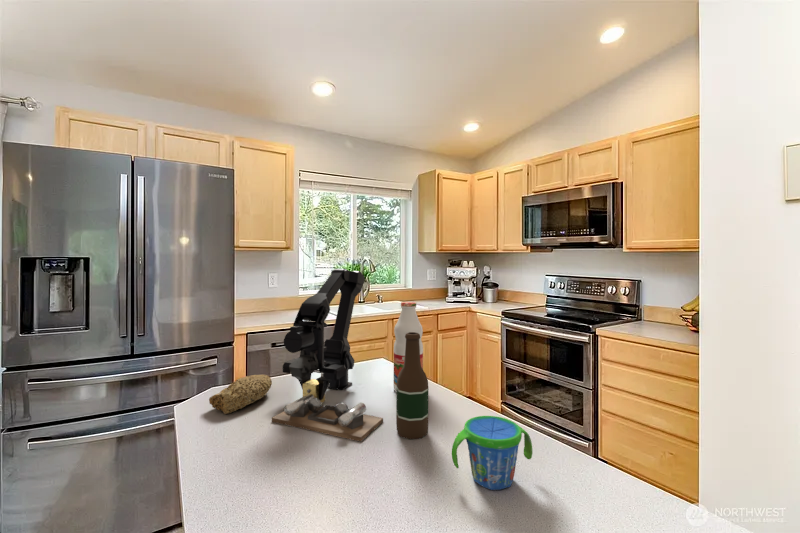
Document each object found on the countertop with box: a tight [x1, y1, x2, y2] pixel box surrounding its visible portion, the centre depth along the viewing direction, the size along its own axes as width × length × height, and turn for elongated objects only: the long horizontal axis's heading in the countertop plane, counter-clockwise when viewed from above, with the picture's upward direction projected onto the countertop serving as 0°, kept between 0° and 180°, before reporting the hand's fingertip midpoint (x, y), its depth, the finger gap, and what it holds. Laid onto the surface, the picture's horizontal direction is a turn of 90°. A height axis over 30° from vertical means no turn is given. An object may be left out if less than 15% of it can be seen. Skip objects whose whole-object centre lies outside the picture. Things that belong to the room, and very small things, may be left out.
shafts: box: [283, 394, 367, 427], centre depth 95 cm, size 9×18×4 cm, turn 67°
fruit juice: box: [393, 301, 424, 392], centre depth 120 cm, size 9×9×28 cm
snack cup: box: [451, 415, 533, 491], centre depth 71 cm, size 16×10×10 cm
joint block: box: [302, 378, 326, 404], centre depth 109 cm, size 5×4×6 cm
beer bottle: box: [395, 332, 429, 440], centre depth 90 cm, size 8×8×24 cm
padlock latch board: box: [271, 403, 384, 442], centre depth 96 cm, size 12×26×4 cm, turn 67°
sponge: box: [208, 374, 273, 415], centre depth 110 cm, size 13×8×20 cm
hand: (313, 398), depth 109 cm, fingers open, 5 cm apart
